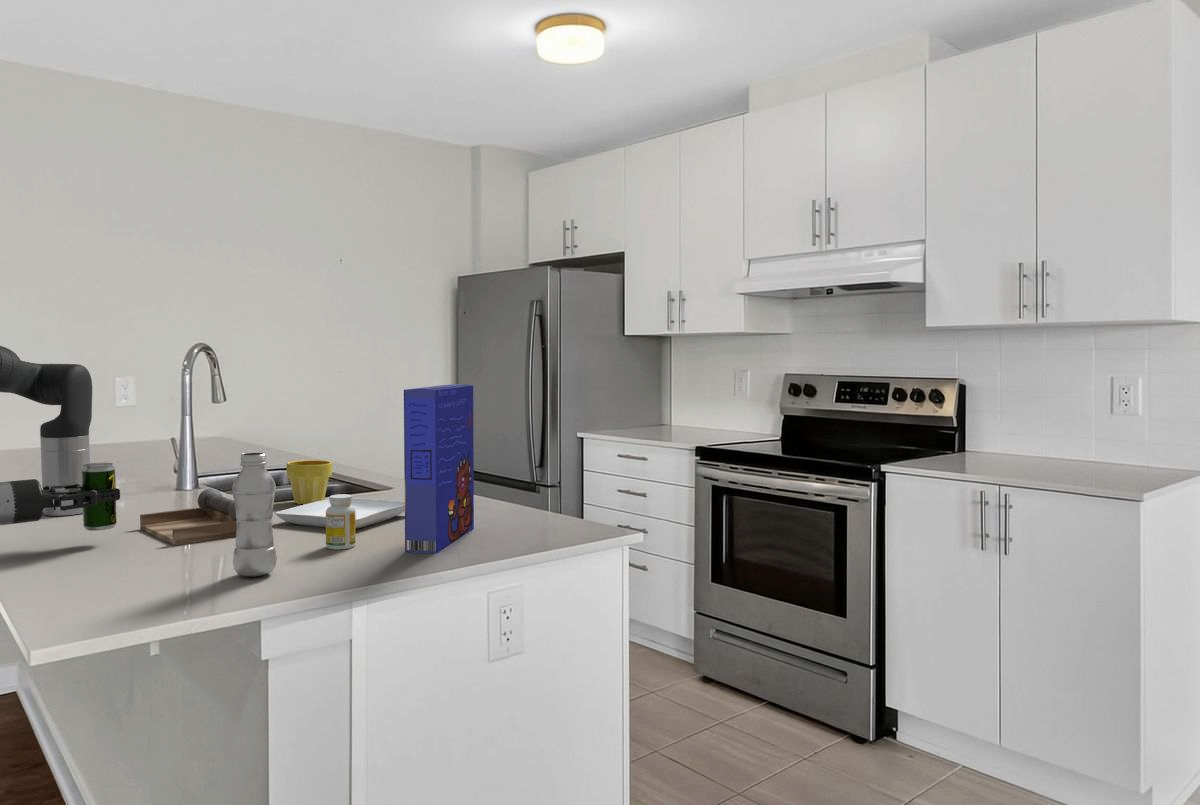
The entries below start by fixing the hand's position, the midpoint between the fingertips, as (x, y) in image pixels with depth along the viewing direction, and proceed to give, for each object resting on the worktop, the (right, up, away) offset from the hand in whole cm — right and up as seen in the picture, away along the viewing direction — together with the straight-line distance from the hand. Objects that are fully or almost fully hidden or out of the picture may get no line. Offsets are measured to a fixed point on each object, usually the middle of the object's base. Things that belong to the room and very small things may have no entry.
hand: (114, 491), depth 161 cm
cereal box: (+61, -10, +5) cm, 62 cm away
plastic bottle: (+36, -12, -22) cm, 43 cm away
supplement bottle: (+43, -10, -1) cm, 45 cm away
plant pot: (+22, -7, +44) cm, 50 cm away
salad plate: (+37, -9, +23) cm, 45 cm away
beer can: (-2, -7, -1) cm, 7 cm away
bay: (+10, -9, +10) cm, 17 cm away
